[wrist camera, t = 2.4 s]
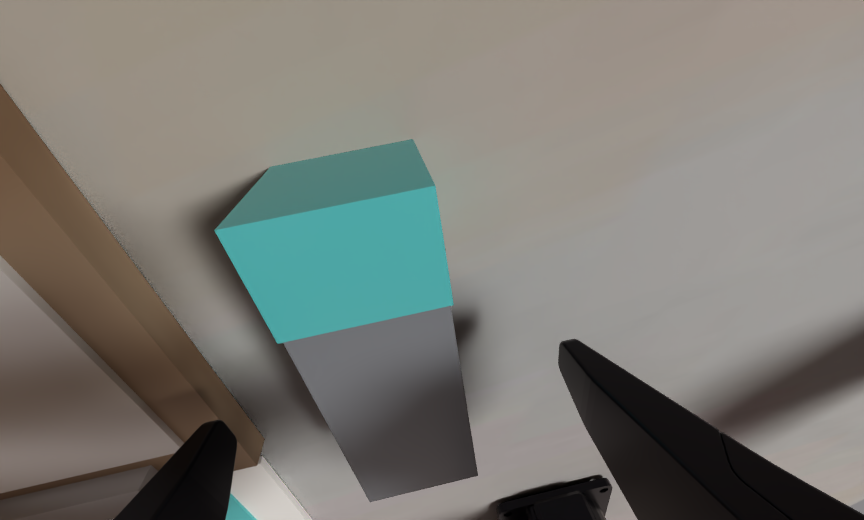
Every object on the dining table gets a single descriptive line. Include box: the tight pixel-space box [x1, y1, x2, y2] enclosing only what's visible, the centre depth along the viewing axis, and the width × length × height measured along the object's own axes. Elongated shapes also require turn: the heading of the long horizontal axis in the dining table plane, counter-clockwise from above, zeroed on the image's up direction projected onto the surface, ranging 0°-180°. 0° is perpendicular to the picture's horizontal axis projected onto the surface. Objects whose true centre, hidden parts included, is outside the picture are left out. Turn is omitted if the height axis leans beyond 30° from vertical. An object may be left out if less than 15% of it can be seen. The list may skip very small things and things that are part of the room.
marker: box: [214, 139, 478, 502], centre depth 10 cm, size 10×4×4 cm, turn 9°
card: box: [225, 456, 312, 520], centre depth 15 cm, size 6×5×1 cm
